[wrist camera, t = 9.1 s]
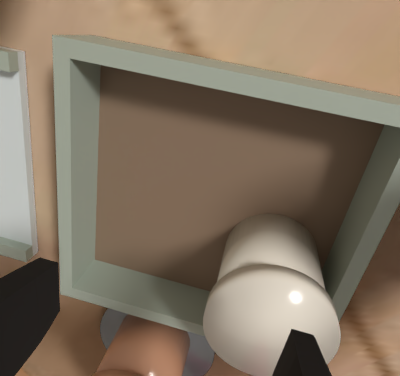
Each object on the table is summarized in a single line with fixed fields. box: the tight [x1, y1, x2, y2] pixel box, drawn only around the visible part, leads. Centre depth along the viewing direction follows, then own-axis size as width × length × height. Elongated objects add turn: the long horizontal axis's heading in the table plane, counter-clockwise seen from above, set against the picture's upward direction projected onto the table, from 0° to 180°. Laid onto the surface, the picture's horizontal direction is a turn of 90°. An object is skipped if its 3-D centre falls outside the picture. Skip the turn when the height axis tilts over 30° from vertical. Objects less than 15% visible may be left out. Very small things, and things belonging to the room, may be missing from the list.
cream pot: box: [203, 214, 341, 376], centre depth 17 cm, size 6×6×6 cm
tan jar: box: [91, 314, 190, 376], centre depth 22 cm, size 6×6×6 cm
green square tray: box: [52, 35, 400, 336], centre depth 18 cm, size 16×15×4 cm
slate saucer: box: [100, 308, 215, 376], centre depth 25 cm, size 9×9×1 cm
